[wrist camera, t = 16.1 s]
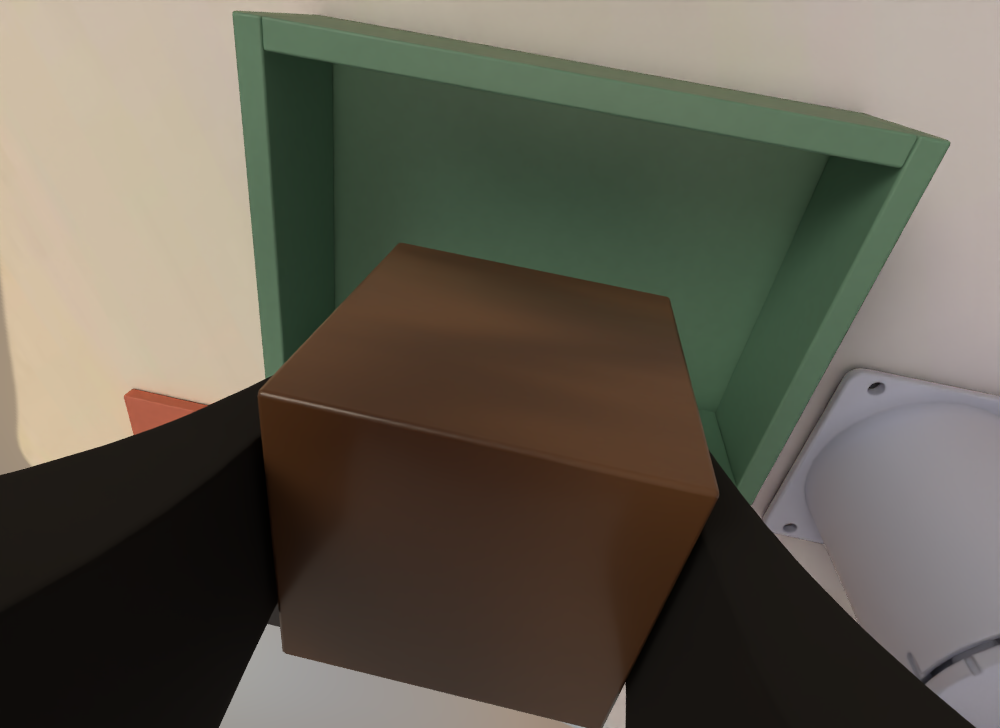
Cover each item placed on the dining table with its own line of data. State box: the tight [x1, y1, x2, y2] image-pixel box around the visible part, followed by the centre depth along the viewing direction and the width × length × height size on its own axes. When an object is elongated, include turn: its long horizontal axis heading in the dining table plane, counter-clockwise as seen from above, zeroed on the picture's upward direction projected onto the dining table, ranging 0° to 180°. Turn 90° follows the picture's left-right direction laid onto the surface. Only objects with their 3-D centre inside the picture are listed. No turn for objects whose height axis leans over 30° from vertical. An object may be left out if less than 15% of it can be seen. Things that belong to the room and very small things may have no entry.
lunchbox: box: [233, 11, 950, 505], centre depth 17 cm, size 16×11×4 cm
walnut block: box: [257, 243, 719, 728], centre depth 9 cm, size 5×5×5 cm
